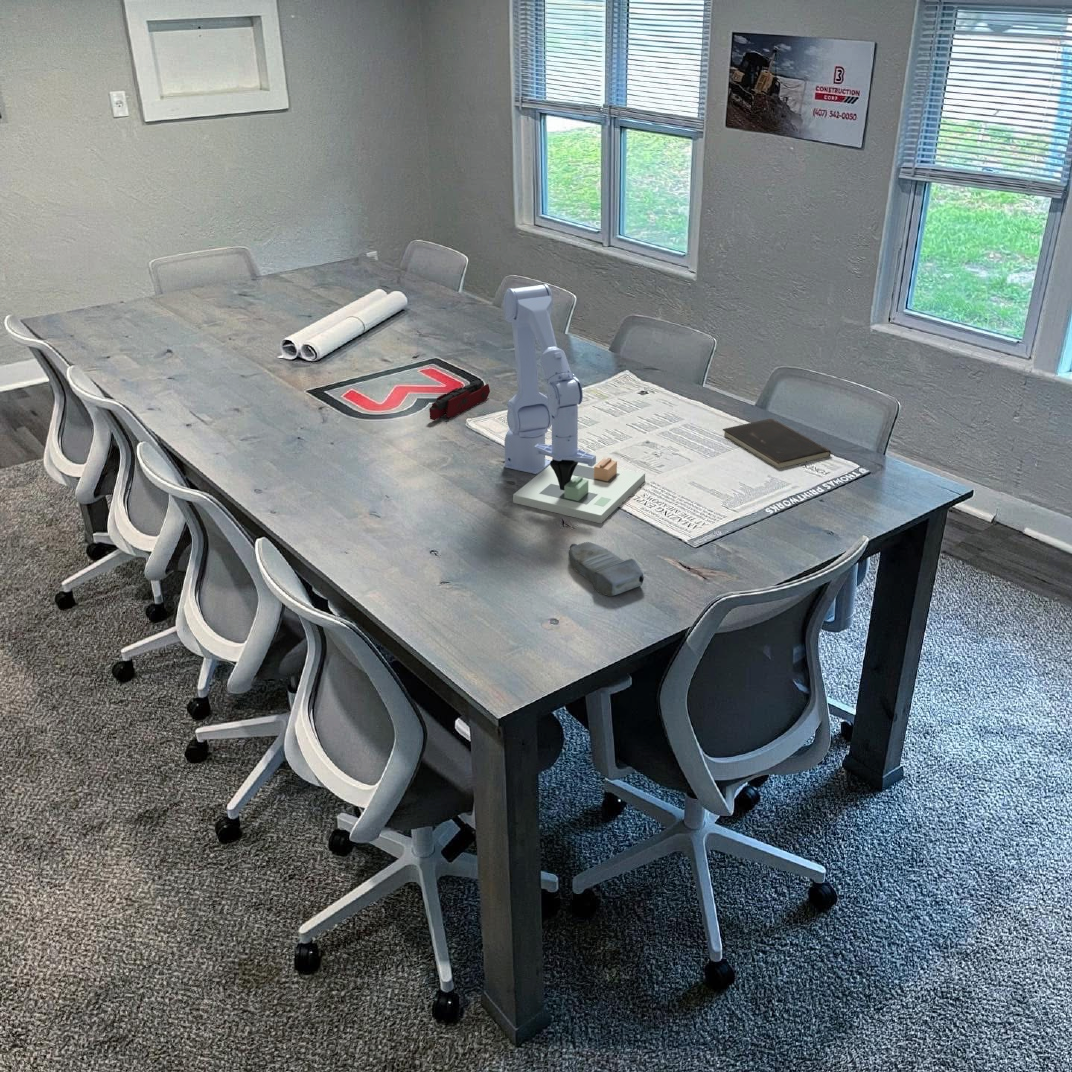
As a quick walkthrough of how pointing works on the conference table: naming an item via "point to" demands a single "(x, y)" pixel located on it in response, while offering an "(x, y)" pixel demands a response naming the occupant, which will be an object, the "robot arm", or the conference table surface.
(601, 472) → the tab terracotta
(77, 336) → the conference table surface
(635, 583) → the handheld device
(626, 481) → the switch board
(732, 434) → the hardcover book
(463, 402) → the mechanical component
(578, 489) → the tab green
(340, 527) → the conference table surface
